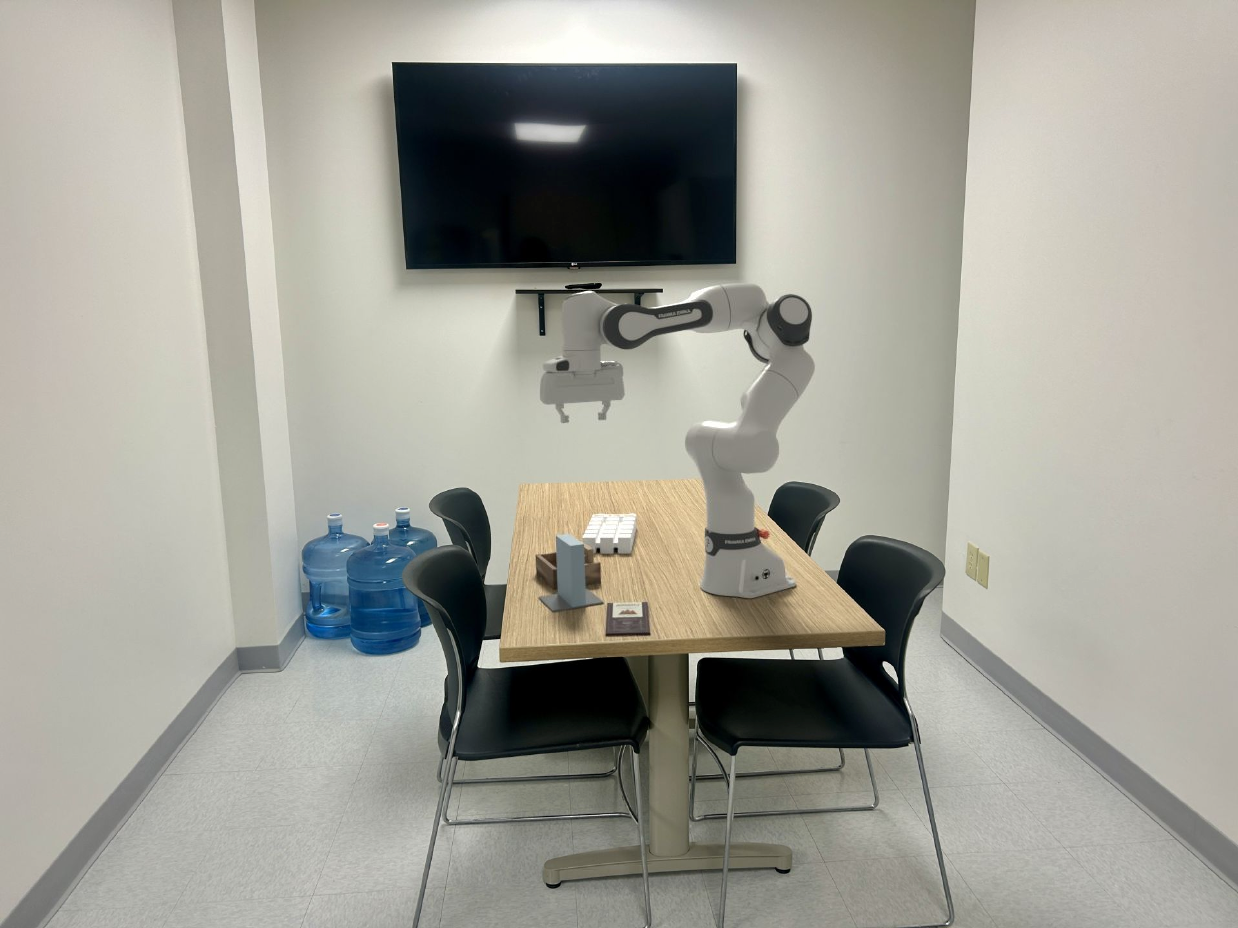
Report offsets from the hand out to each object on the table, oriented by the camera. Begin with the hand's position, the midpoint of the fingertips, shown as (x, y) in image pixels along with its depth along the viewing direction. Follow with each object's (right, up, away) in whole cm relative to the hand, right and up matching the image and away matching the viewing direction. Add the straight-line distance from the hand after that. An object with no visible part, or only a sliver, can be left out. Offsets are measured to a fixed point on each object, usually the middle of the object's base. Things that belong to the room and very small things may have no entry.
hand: (583, 421), depth 194 cm
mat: (-3, -41, -7) cm, 42 cm away
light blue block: (-2, -41, -8) cm, 42 cm away
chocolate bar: (+10, -44, -20) cm, 49 cm away
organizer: (+6, -32, +47) cm, 57 cm away
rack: (-4, -38, +9) cm, 40 cm away
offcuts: (-2, -36, +10) cm, 38 cm away
